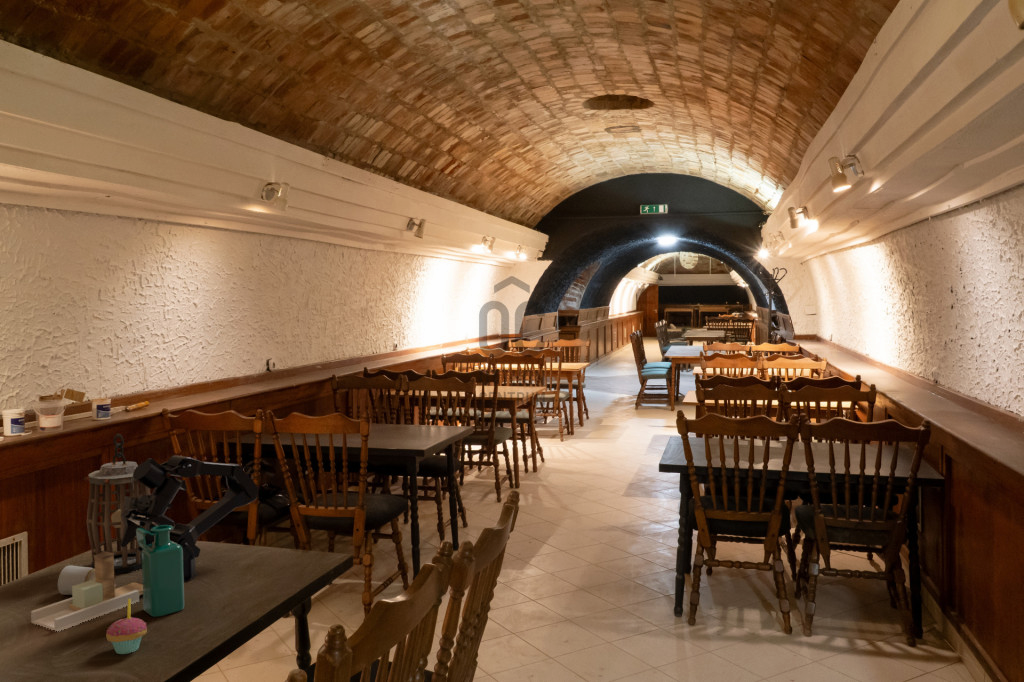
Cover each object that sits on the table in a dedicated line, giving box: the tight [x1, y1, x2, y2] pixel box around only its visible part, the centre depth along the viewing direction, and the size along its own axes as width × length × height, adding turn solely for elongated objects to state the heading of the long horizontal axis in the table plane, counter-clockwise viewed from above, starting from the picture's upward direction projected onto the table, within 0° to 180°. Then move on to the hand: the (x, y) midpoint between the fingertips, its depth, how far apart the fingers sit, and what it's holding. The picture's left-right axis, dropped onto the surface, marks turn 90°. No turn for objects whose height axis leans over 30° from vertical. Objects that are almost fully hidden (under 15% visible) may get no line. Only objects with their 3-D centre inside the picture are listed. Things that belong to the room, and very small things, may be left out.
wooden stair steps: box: [69, 552, 143, 611], centre depth 212 cm, size 18×8×13 cm, turn 150°
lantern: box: [82, 433, 152, 575], centre depth 242 cm, size 19×19×40 cm
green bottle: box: [136, 525, 185, 618], centre depth 207 cm, size 10×8×22 cm
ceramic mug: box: [57, 564, 95, 596], centre depth 221 cm, size 11×8×8 cm
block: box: [71, 580, 103, 609], centre depth 207 cm, size 5×5×5 cm
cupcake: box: [105, 595, 148, 655], centre depth 185 cm, size 9×8×12 cm
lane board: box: [30, 583, 140, 633], centre depth 207 cm, size 22×11×3 cm, turn 150°
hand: (130, 548), depth 218 cm, fingers open, 9 cm apart
